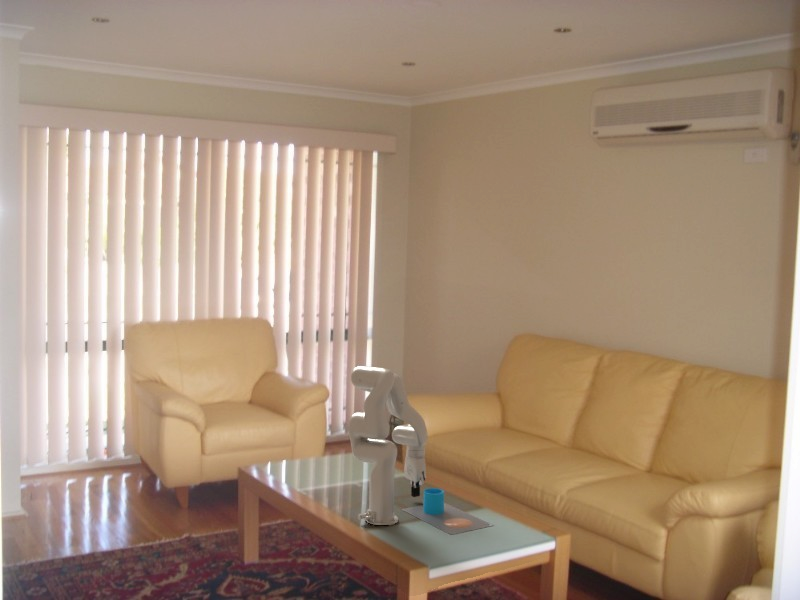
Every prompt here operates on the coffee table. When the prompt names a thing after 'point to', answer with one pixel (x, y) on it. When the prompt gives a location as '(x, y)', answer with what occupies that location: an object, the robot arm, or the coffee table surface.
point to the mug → (433, 501)
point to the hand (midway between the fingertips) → (415, 495)
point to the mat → (449, 519)
